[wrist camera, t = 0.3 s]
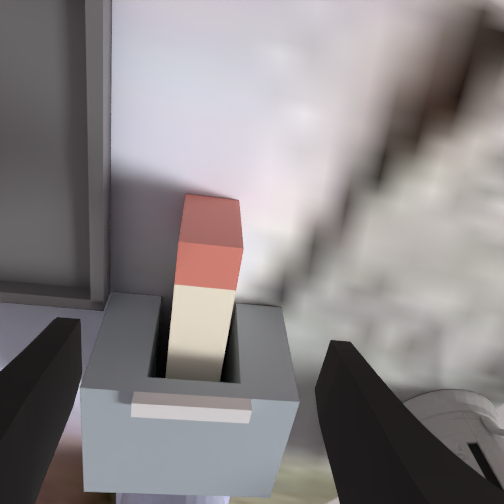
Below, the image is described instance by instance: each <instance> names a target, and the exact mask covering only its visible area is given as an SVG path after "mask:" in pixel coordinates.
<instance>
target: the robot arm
mask: <svg viewBox="0 0 504 504" xmlns="http://www.w3.org/2000/svg"><path fill="white" fill-rule="evenodd" d="M81 375H82V356H81V323H80V319H72V318H60V317H57V318H56V319H54V320H53V321H52V322H51V323H50V324H49V325H48V326H47V327H46V328H45V329H44V330H43V331H42V332H41V333H40V334H39V335H38V336H37V337H36V338H35V339H34V340H33V341H32V342H31V343H30V344H29V345H28V346H27V347H26V348H25V349H24V350H23V351H22V352H21V353H20V354H19V355H18V356H16V357H15V358H14V359H13V360H12V361H11V362H10V363H9V364H8V365H7V366H6V367H5V368H3V369H2V370H1V371H0V504H35V502H36V499H37V496H38V493H39V491H40V488H41V485H42V482H43V480H44V478H45V475H46V473H47V470H48V468H49V465H50V463H51V460H52V458H53V455H54V453H55V450H56V448H57V446H58V443H59V441H60V438H61V436H62V433H63V431H64V428H65V426H66V423H67V421H68V418H69V416H70V413H71V411H72V408H73V405H74V401H75V398H76V394H77V390H78V387H79V383H80V379H81ZM315 395H316V403H317V411H318V418H319V424H320V428H321V432H322V436H323V440H324V443H325V447H326V451H327V455H328V459H329V463H330V466H331V470H332V474H333V478H334V482H335V485H336V489H337V493H338V497H339V501H340V504H504V492H503V491H502V490H500V489H499V488H498V487H496V486H495V485H494V484H492V483H491V482H489V481H488V480H487V479H485V478H484V477H483V476H482V475H480V474H479V473H478V472H477V471H475V470H474V469H473V468H472V467H470V466H469V465H468V464H466V463H465V462H464V461H463V460H462V459H460V458H459V457H458V456H457V455H456V454H454V453H453V452H452V451H451V450H450V449H449V448H448V447H447V446H445V445H444V444H443V443H442V442H441V441H440V440H439V439H438V438H437V437H435V436H434V435H433V434H432V433H431V432H430V431H429V430H428V429H427V428H426V427H425V426H424V425H423V424H422V423H421V422H420V421H419V420H418V419H417V418H416V417H415V416H414V415H413V414H412V413H411V412H410V411H409V410H408V409H407V408H406V407H405V405H404V404H403V403H402V402H401V401H400V400H399V399H398V398H397V397H396V396H395V394H394V393H393V392H392V391H391V390H390V389H389V388H388V386H387V385H386V384H385V383H384V382H383V381H382V379H381V378H380V377H379V376H378V375H377V373H376V372H375V371H374V370H373V369H372V367H371V366H370V365H369V364H368V363H367V361H366V360H365V359H364V358H363V356H362V355H361V354H360V353H359V352H358V350H357V349H356V348H355V347H354V346H353V344H352V343H351V342H347V341H335V340H331V341H330V344H329V347H328V350H327V353H326V356H325V359H324V362H323V365H322V368H321V372H320V375H319V378H318V381H317V384H316V387H315ZM229 498H230V496H201V495H171V494H141V493H116V504H228V503H229Z"/></svg>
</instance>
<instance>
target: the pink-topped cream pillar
mask: <svg viewBox="0 0 504 504" xmlns="http://www.w3.org/2000/svg"><path fill="white" fill-rule="evenodd" d="M242 254H243V238H242V227H241V216H240V206H239V200H232V199H224V198H216V197H208V196H200V195H192V194H186V196H185V202H184V209H183V215H182V222H181V228H180V235H179V241H178V251H177V262H176V272H175V283H174V294H173V304H172V315H171V325H170V336H169V346H168V357H167V368H166V378H165V379H180V380H194V381H209V382H220V377H221V371H222V366H223V360H224V354H225V349H226V343H227V338H228V332H229V327H230V321H231V315H232V310H233V304H234V299H235V293H236V287H237V282H238V276H239V271H240V265H241V260H242Z"/></svg>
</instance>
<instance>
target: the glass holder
mask: <svg viewBox="0 0 504 504" xmlns="http://www.w3.org/2000/svg"><path fill="white" fill-rule="evenodd" d="M403 404H404V405H405V407H406V408H407V409H408V410H409V411H410V412H411V413H412V414H413V415H414V416H415V417H416V418H417V419H418V420H419V421H420V422H421V423H422V424H423V425H424V426H425V427H426V428H427V429H428V430H429V431H430V432H431V433H432V434H433V435H434V436H435V437H437V438H438V439H439V440H440V441H441V442H442V443H443V444H444V445H445V446H447V447H448V448H449V449H450V450H451V451H452V452H453V453H454V454H456V455H457V456H458V457H459V458H460V459H462V460H463V461H464V462H465V463H466V464H468V465H469V466H470V467H472V468H473V469H474V470H475V471H477V472H478V473H479V474H480V475H482V476H483V477H484V478H485V479H487V480H488V481H489V482H491V483H492V484H494V485H495V486H496V487H498V488H499V489H500V490H502V491H503V492H504V430H503V429H500V426H499V419H498V413H497V411H496V409H495V407H494V405H493V404H492V403H491V402H490V401H489V400H488V399H487V398H485V397H484V396H482V395H480V394H477V393H475V392H471V391H466V390H456V389H451V390H439V391H434V392H429V393H426V394H422V395H419V396H416V397H414V398H412V399H409V400H407V401H405V402H404V403H403Z"/></svg>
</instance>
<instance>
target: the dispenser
mask: <svg viewBox="0 0 504 504" xmlns="http://www.w3.org/2000/svg"><path fill="white" fill-rule="evenodd" d="M160 307H161V296H153V295H142V294H131V293H120V292H112V295H111V298H110V301H109V304H108V307H107V310H106V313H105V316H104V319H103V322H102V325H101V328H100V331H99V334H98V336H97V339H96V342H95V345H94V348H93V351H92V354H91V357H90V360H89V363H88V366H87V369H86V372H85V375H84V378H83V381H82V384H81V386H80V402H81V428H82V454H83V480H84V492H111V493H141V494H171V495H201V496H231V497H262V498H270V495H271V492H272V489H273V486H274V483H275V479H276V476H277V473H278V470H279V467H280V463H281V460H282V457H283V454H284V451H285V447H286V444H287V441H288V438H289V435H290V432H291V428H292V425H293V422H294V419H295V416H296V412H297V409H298V406H299V403H300V401H299V395H298V390H297V385H296V380H295V375H294V370H293V365H292V359H291V354H290V349H289V344H288V339H287V334H286V328H285V323H284V318H283V313H282V308H281V307H271V306H260V305H250V304H239V303H236V308H235V313H234V318H233V324H232V329H231V335H230V340H229V346H228V351H227V357H226V362H225V368H224V373H223V379H222V382H209V381H194V380H180V379H165V378H156V377H155V371H156V358H157V345H158V332H159V320H160Z"/></svg>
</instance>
